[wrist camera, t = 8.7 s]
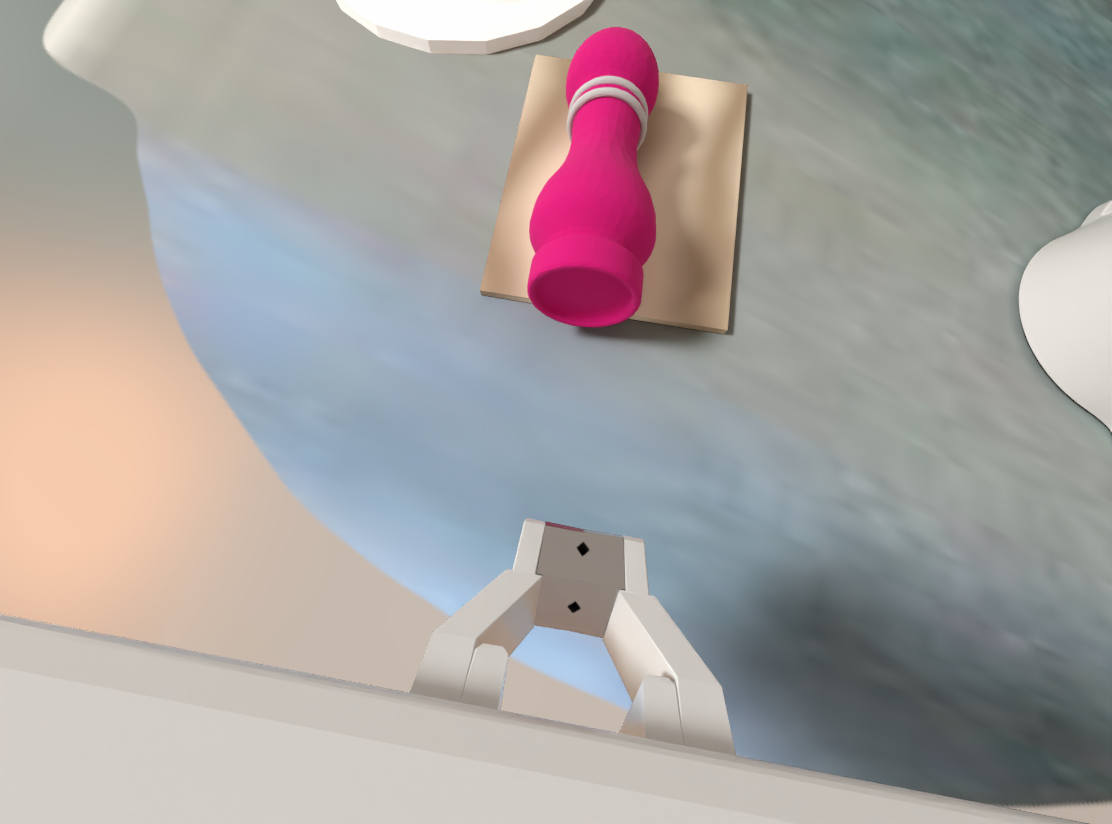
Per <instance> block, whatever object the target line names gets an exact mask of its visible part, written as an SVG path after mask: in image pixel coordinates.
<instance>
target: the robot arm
mask: <svg viewBox="0 0 1112 824" xmlns="http://www.w3.org/2000/svg"><path fill="white" fill-rule="evenodd" d="M1019 310H1020V317H1021V322H1022V326H1023V329H1024V332H1025V335H1026V338H1027V340H1028V342H1029V345H1030V347H1031V349H1032V351H1033V352H1034V354H1035V356H1036V358H1037V359H1038V361H1039V362H1040V364H1041V365H1042V367H1043V368H1044V370H1045V371H1046V372H1047V373H1048V375H1049V376H1050V377H1051V378H1052V379H1053V381H1054V382H1055V383H1056V384H1057V385H1058V386H1059V387H1060V388H1061V389H1062V390H1063V391H1064V392H1065V393H1066V394H1067V395H1068V396H1070V397H1071V398H1072V399H1073V400H1074V401H1076V402H1077V403H1078V404H1080V405H1081V406H1082V407H1084V408H1085V409H1086V410H1088V411H1089V412H1090V413H1092V414H1093V415H1094V416H1096V417H1097V418H1098V419H1100V420H1101V421H1102V422H1103V423H1104V424H1105V425H1106V426H1107V427H1108V428H1109V429H1110V430H1111V432H1112V200H1110V201H1108V202H1106V203H1104V204H1102V205H1100V206H1098V207H1096V208H1095V209H1094V210H1093V211H1092V212H1091V213H1090V214H1089V215H1088V217H1087V218H1086V219H1085V221H1084V222H1083V224H1082V225H1081V227H1079V228H1078V229H1076V230H1075V231H1073V232H1071V233H1069V234H1066V235H1064V236H1062V237H1059V238H1057V239H1055V240H1053V241H1051V242H1050V243H1048V244H1047V245H1045V246H1044V247H1043V248H1041V249H1040V250H1039V251H1038V252H1037V253H1036V254H1035V256H1034V257H1033V258H1032V259H1031V261H1030V262H1029V264H1028V266H1027V267H1026V269H1025V272H1024V274H1023V277H1022V280H1021V285H1020V291H1019ZM544 527H545V529H544ZM534 625H535V626H542V627H548V628H554V629H561V630H567V631H572V632H577V633H581V634H586V635H591V636H595V637H600V638H603V642H604V644H605V646H606V648H607V650H608V652H609V654H610V656H611V658H612V660H613V663H614V665H615V667H616V669H617V671H618V673H619V675H620V677H621V679H622V681H623V683H624V686H625V688H626V690H627V692H628V694H629V696H630V698H631V700H632V702H633V703H632V705H631V708H630V710H629V712H628V714H627V717H626V719H625V721H624V723H623V725H622V727H621V730H620V732H619V733H616V732H611V731H605V730H600V729H595V728H589V727H584V726H580V725H574V724H569V723H564V722H559V721H554V720H548V719H543V718H538V717H532V716H527V715H522V714H517V713H512V712H507V711H501V704H502V697H503V689H504V683H505V675H506V668H507V661H508V657H509V656H510V655H511V654H512V652H513V651H514V650H515V649H516V648H517V646H518V645H519V644H520V643H521V642H522V640H523V639H524V638H525V637H526V636H527V634H528V633H529V632H530V631H531V630H532V629H533V627H534ZM0 824H1088V823H1082V822H1077V821H1072V820H1067V819H1062V818H1057V817H1051V816H1046V815H1041V814H1036V813H1031V812H1026V811H1020V810H1015V809H1010V808H1005V807H1000V806H994V805H989V804H984V803H979V802H974V801H968V800H963V799H958V798H953V797H948V796H943V795H937V794H932V793H927V792H922V791H917V790H911V789H906V788H901V787H896V786H891V785H885V784H880V783H875V782H870V781H865V780H859V779H854V778H849V777H844V776H839V775H834V774H828V773H823V772H818V771H813V770H808V769H802V768H797V767H792V766H787V765H782V764H776V763H771V762H766V761H761V760H756V759H750V758H745V757H740V756H736V754H735V749H734V744H733V739H732V734H731V729H730V725H729V720H728V715H727V710H726V705H725V700H724V696H723V691H722V687H721V685H720V684H719V682H718V681H717V680H716V678H715V677H714V676H713V674H712V673H711V672H710V670H709V669H708V667H707V666H706V665H705V663H704V662H703V661H702V659H701V658H700V657H699V655H698V654H697V653H696V651H695V650H694V648H693V647H692V646H691V644H690V643H689V642H688V640H687V639H686V638H685V636H684V635H683V633H682V632H681V631H680V629H679V628H678V627H677V625H676V624H675V623H674V621H673V620H672V619H671V617H670V616H669V614H668V613H667V612H666V610H665V609H664V608H663V606H662V605H661V604H660V602H659V601H658V600H657V598H656V597H655V596H651V595H649V588H648V577H647V565H646V554H645V543H644V541H643V539H640V538H634V537H628V536H622V535H617V534H611V533H605V532H599V531H593V530H587V529H580V528H575V527H570V526H565V525H560V524H556V523H551V522H546V524H545V522H544V521H539V520H534V519H529V518H526V519H525V521H524V524H523V529H522V533H521V537H520V541H519V545H518V549H517V553H516V558H515V562H514V566H513V570H509V569H506V570H505V571H504V572H503V573H501V574H500V575H499V576H498V577H497V578H496V579H494V580H493V581H492V582H491V583H490V584H489V585H487V586H486V587H485V588H484V589H483V590H481V591H480V592H479V593H478V594H477V595H476V596H474V597H473V598H472V599H471V600H470V601H469V602H467V603H466V604H465V605H464V606H463V607H461V608H460V609H459V610H458V611H457V612H456V613H454V614H453V615H452V616H451V617H450V618H449V619H447V620H446V621H445V622H444V623H443V624H442V625H440V626H439V627H438V628H437V629H436V630H434V631H433V634H432V636H431V639H430V641H429V644H428V647H427V649H426V652H425V655H424V657H423V660H422V662H421V665H420V667H419V670H418V673H417V676H416V678H415V680H414V683H413V686H412V688H411V691H410V693H408V692H403V691H398V690H392V689H387V688H382V687H377V686H372V685H366V684H361V683H356V682H351V681H346V680H340V679H335V678H330V677H325V676H320V675H315V674H309V673H304V672H299V671H294V670H289V669H283V668H278V667H273V666H268V665H263V664H258V663H253V662H247V661H242V660H237V659H232V658H227V657H221V656H216V655H211V654H206V653H201V652H196V651H190V650H185V649H180V648H175V647H170V646H165V645H159V644H155V643H149V642H144V641H139V640H134V639H129V638H124V637H118V636H113V635H108V634H103V633H97V632H93V631H88V630H82V629H77V628H72V627H67V626H62V625H57V624H52V623H46V622H41V621H36V620H30V619H26V618H21V617H16V616H11V615H6V614H1V613H0Z"/></svg>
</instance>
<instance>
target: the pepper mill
mask: <svg viewBox="0 0 1112 824" xmlns="http://www.w3.org/2000/svg"><path fill="white" fill-rule="evenodd" d="M658 89H659V71H658V66H657V62H656V59H655V56H654V54H653V52H652V50H651V48H650V47H649V45H648V43H647V42H646V41H645V40H644V39H643V38H642V37H641V36H640V35H638V34H637V33H635V32H634V31H632V30H629V29H626V28H621V27H611V28H606V29H603V30H601V31H599V32H597V33H595V34H593V35H591V36H590V37H589V38H588V39H586V40H585V42H584V43H583V44H582V45H581V46H580V47H579V49H578V50H577V51H576V53H575V55H574V57H573V59H572V61H571V64H570V67H569V70H568V74H567V78H566V100H567V104H568V107H569V114H568V118H567V133H568V137H569V140H570V142H571V146H570V150H569V153H568V155H567V157H566V159H565V161H564V163H563V164H562V165H561V167H560V168H559V169H558V170H557V171H556V172H555V173H554V174H553V175H552V176H551V177H550V178H549V180H548V181H547V182H546V184H545V185H544V187H543V189H542V190H541V192H540V194H539V196H538V197H537V200H536V202H535V205H534V208H533V212H532V215H531V219H530V225H529V235H530V241H531V245H532V247H533V250H534V252H535V255H534V257H533V259H532V262H531V267H530V273H529V278H528V284H527V293H528V297H529V299H530V300H531V302H532V303H533V305H534V306H535V307H536V308H537V309H538V310H539V311H541V312H542V313H543V314H544V315H546V316H548V317H550V318H552V319H554V320H556V321H559V322H562V323H565V324H569V325H573V326H580V327H605V326H611V325H615V324H618V323H620V322H623V321H625V320H627V319H628V318H630V317H631V316H633V315H634V314H635V312H636V311H637V310H638V308H639V306H640V304H641V299H642V288H643V278H644V274H643V268H642V266H643V265H644V264H645V263H646V262H647V260H648V259H649V257H650V256H651V254H652V251H653V249H654V246H655V242H656V213H655V209H654V206H653V202H652V198H651V195H650V192H649V190H648V188H647V187H646V185H645V183H644V181H643V179H642V177H641V175H640V172H639V170H638V165H637V150H638V149H639V148H640V146H641V144H642V143H643V141H644V139H645V136H646V131H647V121H648V117H649V115H650V114H651V112H652V110H653V109H654V106H655V103H656V100H657V95H658Z"/></svg>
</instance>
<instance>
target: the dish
mask: <svg viewBox="0 0 1112 824" xmlns="http://www.w3.org/2000/svg"><path fill="white" fill-rule="evenodd" d="M336 1H337V3H338V5H339V6H340V8H341V10H342V11H344V12H345V13H346V14H348V15H349V16H350V17H352V18H353V19H355V20H356V21H357V22H359V23H360V24H362V25H363V26H364V27H366V28H367V29H369V30H370V31H371V32H373V33H374V34H375V35H377V36H378V37H380V38H382V39H386V40H389V41H392V42H395V43H399V44H402V45H405V46H409V47H412V48H415V49H418V50H422V51H425V52H428V53H438V54H491V53H495V52H498V51H502V50H506V49H510V48H514V47H518V46H522V45H525V44H529V43H533V42H537V41H541V40H542V39H544V38H545V37H547V36H549V35H550V34H552V33H554V32H555V31H557V30H559V29H560V28H562V27H563V26H565V25H567V24H568V23H570V22H572V21H573V20H575V19H576V18H578V17H580V16H581V15H583V14H584V12H585V11H586V10H587V8H588V7H589V6H590V4H591V3H592V2H593V1H594V0H336Z"/></svg>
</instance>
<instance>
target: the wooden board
mask: <svg viewBox="0 0 1112 824" xmlns="http://www.w3.org/2000/svg"><path fill="white" fill-rule="evenodd" d="M571 61H572V60H570V59H563V58H556V57H549V56H542V55H536V56H535V61H534V65H533V69H532V73H531V77H530V82H529V86H528V90H527V94H526V98H525V103H524V107H523V111H522V115H521V120H520V124H519V128H518V132H517V136H516V141H515V145H514V149H513V153H512V157H511V162H510V166H509V170H508V174H507V179H506V183H505V187H504V191H503V195H502V200H501V204H500V208H499V212H498V216H497V221H496V225H495V229H494V233H493V238H492V242H491V246H490V250H489V254H488V259H487V263H486V267H485V271H484V275H483V280H482V284H481V288H480V292H481V295H485V296H491V297H497V298H503V299H510V300H516V301H522V302H528V303H532V302H531V300H530V299H529V297H528V293H527V284H528V278H529V273H530V267H531V262H532V259H533V257H534V255H535V252H534V250H533V247H532V245H531V241H530V235H529V225H530V219H531V215H532V212H533V208H534V205H535V202H536V200H537V197H538V196H539V194H540V192H541V190H542V189H543V187H544V185H545V184H546V182H547V181H548V180H549V178H550V177H551V176H552V175H553V174H554V173H555V172H556V171H557V170H558V169H559V168H560V167H561V165H562V164H563V163H564V161H565V159H566V157H567V155H568V153H569V150H570V146H571V142H570V140H569V137H568V133H567V118H568V114H569V107H568V104H567V100H566V78H567V74H568V70H569V67H570V64H571ZM747 87H748V85H744V84H737V83H730V82H723V81H716V80H709V79H702V78H695V77H688V76H681V75H674V74H667V73H660V72H659V89H658V95H657V100H656V103H655V106H654V109H653V110H652V112H651V114H650V115H649V117H648V121H647V131H646V136H645V139H644V141H643V143H642V144H641V146H640V148H639V149H638V150H637V165H638V170H639V172H640V175H641V177H642V179H643V181H644V183H645V185H646V187H647V188H648V190H649V192H650V195H651V198H652V202H653V206H654V209H655V213H656V242H655V246H654V249H653V251H652V254H651V256H650V257H649V259H648V260H647V262H646V263H645V264H644V265H643V266H642V268H643V274H644V278H643V288H642V299H641V304H640V306H639V308H638V310H637V311H636V312H635V314H634V315H633V316H631V317H630V318H628V319H633V320H640V321H646V322H652V323H658V324H664V325H671V326H677V327H683V328H689V329H695V330H702V331H708V332H714V333H720V334H725V333H726V331H727V330H728V320H729V308H730V295H731V283H732V271H733V259H734V246H735V234H736V222H737V210H738V197H739V185H740V173H741V161H742V148H743V136H744V124H745V112H746V99H747Z"/></svg>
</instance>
